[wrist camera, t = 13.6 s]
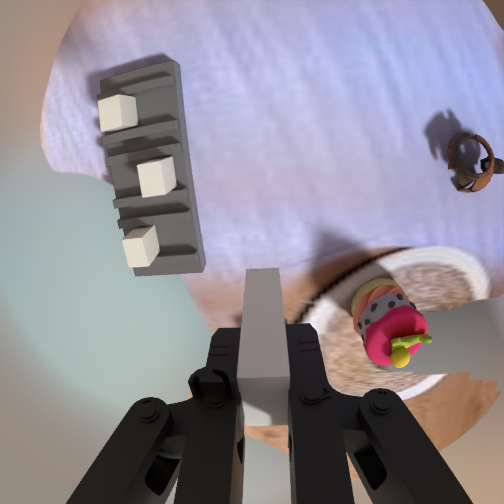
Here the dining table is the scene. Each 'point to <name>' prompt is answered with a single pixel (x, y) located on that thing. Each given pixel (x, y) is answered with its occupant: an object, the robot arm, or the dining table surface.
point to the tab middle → (157, 176)
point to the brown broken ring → (487, 164)
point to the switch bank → (148, 148)
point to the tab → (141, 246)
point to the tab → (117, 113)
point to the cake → (388, 322)
